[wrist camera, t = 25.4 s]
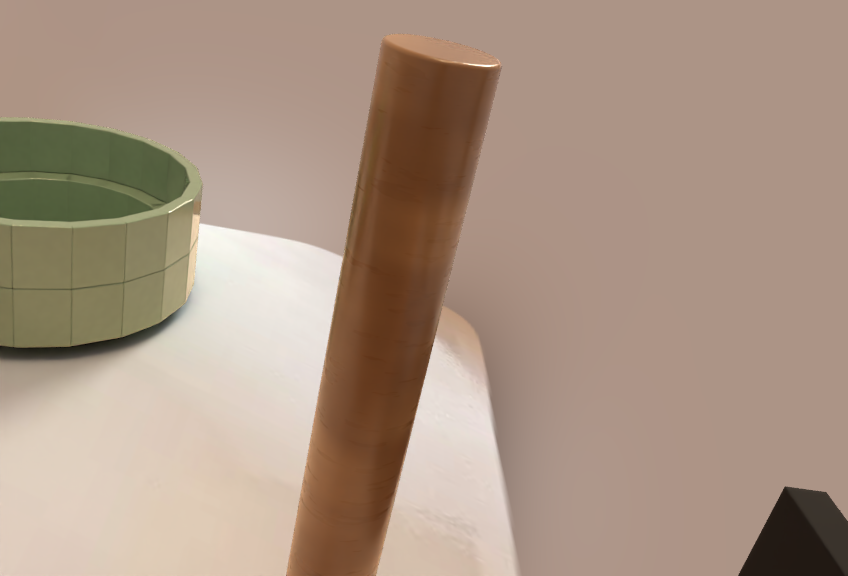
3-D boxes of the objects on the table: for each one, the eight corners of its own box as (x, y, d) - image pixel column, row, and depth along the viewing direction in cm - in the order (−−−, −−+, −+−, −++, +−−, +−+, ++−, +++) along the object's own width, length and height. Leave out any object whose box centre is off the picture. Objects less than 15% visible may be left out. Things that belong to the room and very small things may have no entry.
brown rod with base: (393, 623, 24) (549, 50, 17) (397, 788, 20) (612, 110, 12) (229, 607, 24) (314, 1, 16) (195, 774, 19) (289, 45, 12)
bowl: (213, 249, 44) (223, 148, 42) (154, 380, 33) (163, 250, 30) (-35, 209, 43) (-40, 100, 40) (-192, 332, 31) (-214, 189, 28)
